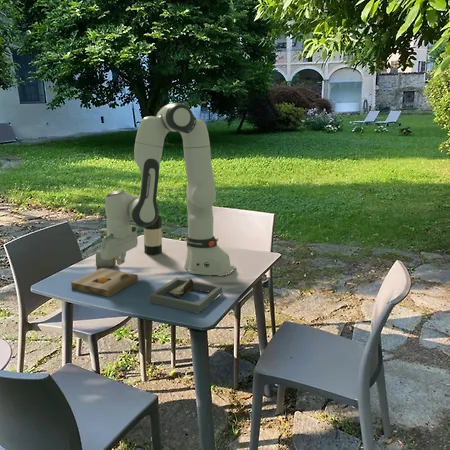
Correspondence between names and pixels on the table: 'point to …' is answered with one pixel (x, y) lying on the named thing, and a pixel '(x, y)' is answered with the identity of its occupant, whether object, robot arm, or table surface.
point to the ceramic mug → (104, 261)
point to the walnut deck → (114, 284)
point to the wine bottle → (153, 238)
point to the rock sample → (182, 289)
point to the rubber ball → (102, 279)
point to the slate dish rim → (161, 299)
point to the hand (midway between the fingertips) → (120, 263)
